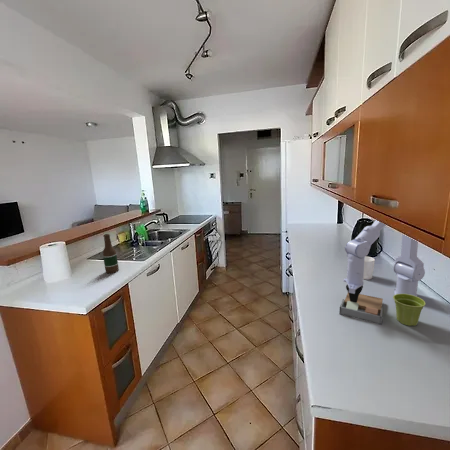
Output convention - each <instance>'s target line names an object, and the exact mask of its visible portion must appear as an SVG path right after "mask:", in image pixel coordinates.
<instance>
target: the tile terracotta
mask: <svg viewBox="0 0 450 450" xmlns="http://www.w3.org/2000/svg"><path fill="white" fill-rule="evenodd" d="M365 312H366V313H370V314H374V315H378V309H376V308H371V307H367V306H366V310H365Z"/></svg>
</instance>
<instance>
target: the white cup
mask: <svg viewBox="0 0 450 450" xmlns="http://www.w3.org/2000/svg"><path fill="white" fill-rule="evenodd" d="M375 261H376V260H375V258H374V257H371V256H368V255H366V256H365V260H364V276H363V280H372V279H373V274H374V268H375Z"/></svg>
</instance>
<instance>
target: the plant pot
mask: <svg viewBox="0 0 450 450" xmlns="http://www.w3.org/2000/svg"><path fill="white" fill-rule="evenodd" d="M392 299H393V301H394V305H395V311H396V312H395V313H396V320H397V321H398V322H399V323H400V324H402V325H405V326H409V327H410V326H417V325H418V324H419V323H418V322H419V320H420V316H421V314H422V313H421V312H422V310H423V309H424V307H425V306H426V305H427V303H426V301H425V300H424V299H422V298H421V297H419V296H417V297H416V296H413V295H409V294H396V295H393V296H392Z"/></svg>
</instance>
